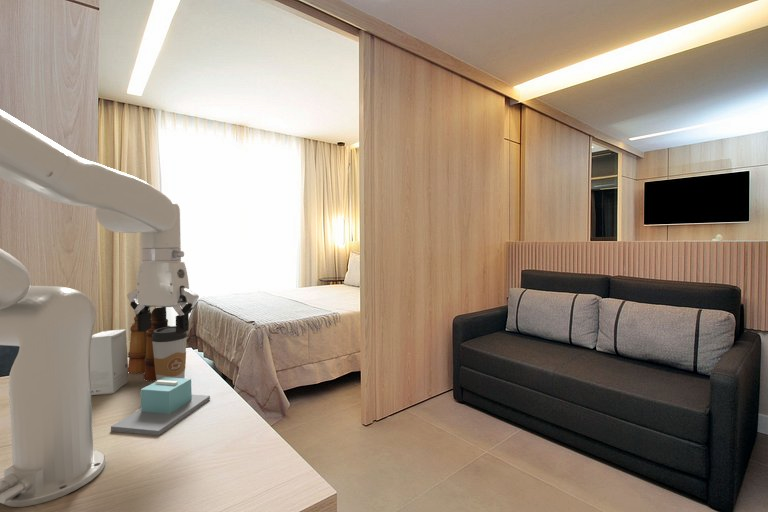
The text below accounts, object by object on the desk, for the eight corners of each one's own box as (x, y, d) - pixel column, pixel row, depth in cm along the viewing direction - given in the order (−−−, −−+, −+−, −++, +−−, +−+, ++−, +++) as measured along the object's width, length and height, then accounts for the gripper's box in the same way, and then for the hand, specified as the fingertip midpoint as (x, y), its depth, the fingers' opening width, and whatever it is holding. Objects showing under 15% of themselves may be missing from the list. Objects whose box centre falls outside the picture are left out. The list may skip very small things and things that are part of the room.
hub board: (158, 435, 71) (158, 412, 70) (110, 431, 72) (110, 408, 72) (209, 399, 86) (209, 380, 86) (169, 396, 88) (169, 377, 88)
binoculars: (122, 370, 106) (120, 304, 105) (152, 362, 113) (150, 300, 112) (152, 383, 96) (150, 310, 95) (183, 374, 103) (181, 306, 102)
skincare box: (114, 394, 90) (112, 336, 89) (86, 396, 88) (84, 337, 87) (129, 381, 98) (127, 328, 97) (104, 383, 96) (102, 329, 96)
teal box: (191, 399, 84) (191, 376, 84) (169, 413, 77) (168, 388, 77) (165, 397, 85) (164, 374, 85) (141, 411, 78) (140, 386, 78)
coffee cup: (160, 393, 90) (158, 335, 89) (147, 385, 95) (145, 330, 94) (194, 382, 97) (192, 328, 96) (180, 375, 102) (179, 324, 101)
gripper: (207, 255, 82) (208, 328, 83) (142, 255, 85) (143, 325, 85) (184, 257, 75) (185, 337, 75) (113, 256, 77) (115, 333, 78)
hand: (163, 331), depth 80 cm, fingers open, 9 cm apart
